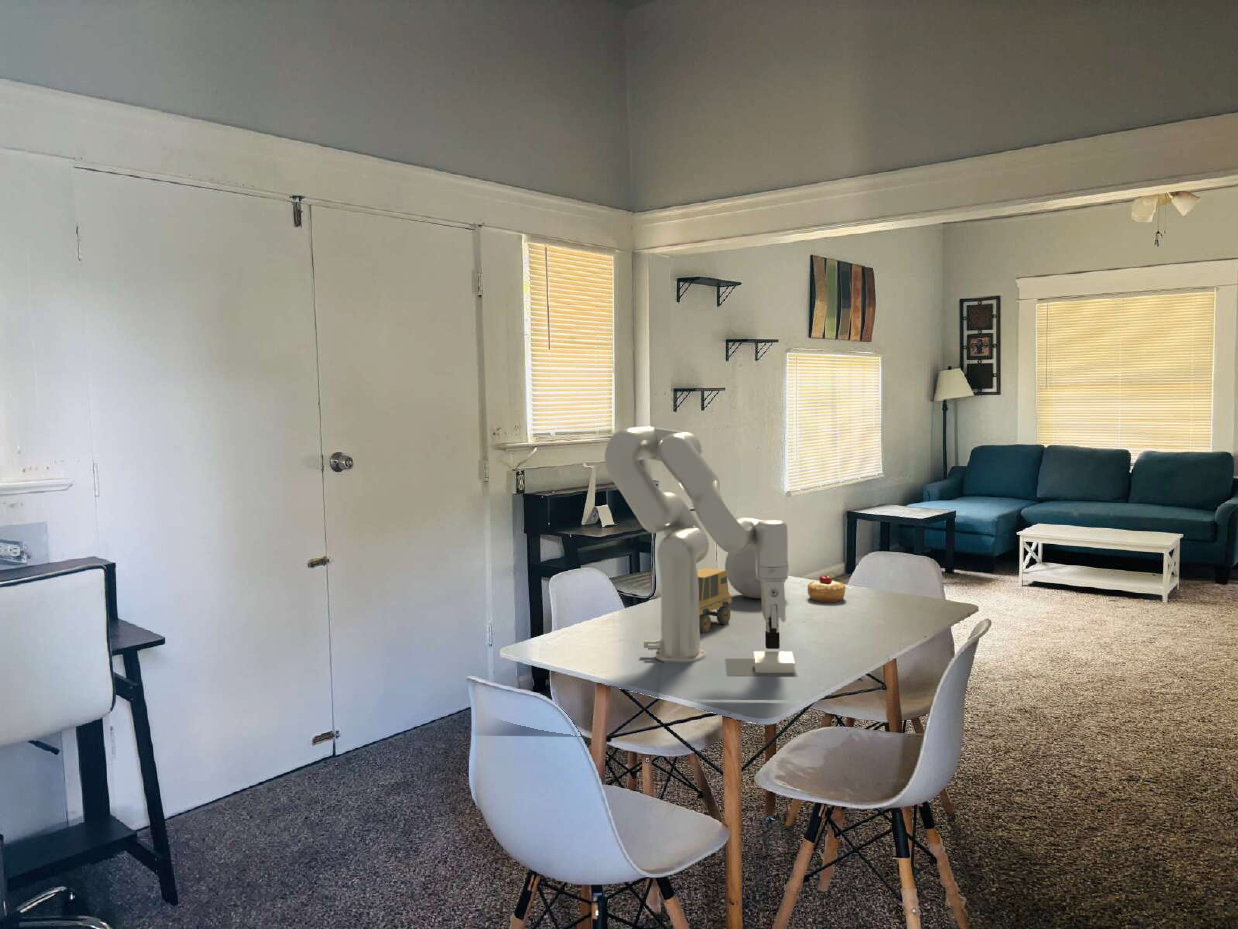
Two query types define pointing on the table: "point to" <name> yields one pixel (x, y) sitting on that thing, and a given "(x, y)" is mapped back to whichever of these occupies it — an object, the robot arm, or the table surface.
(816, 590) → the pastry
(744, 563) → the ball
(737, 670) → the mat
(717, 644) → the table surface
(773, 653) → the card box
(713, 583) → the toy car
